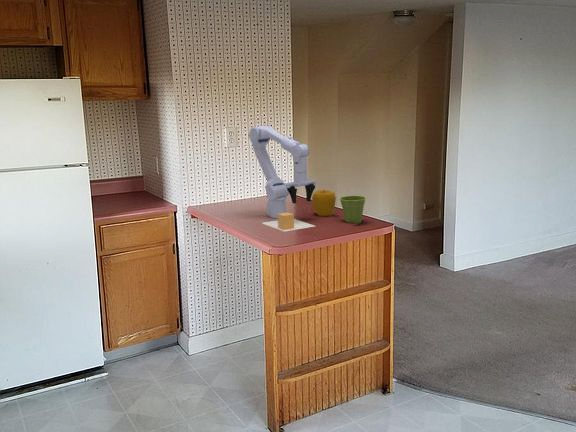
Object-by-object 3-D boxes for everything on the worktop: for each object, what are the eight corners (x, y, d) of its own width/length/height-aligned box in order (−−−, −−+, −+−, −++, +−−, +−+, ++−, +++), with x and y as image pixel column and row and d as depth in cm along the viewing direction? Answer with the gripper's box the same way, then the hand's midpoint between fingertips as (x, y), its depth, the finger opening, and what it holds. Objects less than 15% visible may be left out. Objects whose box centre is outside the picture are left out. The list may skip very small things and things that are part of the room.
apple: (307, 217, 270) (307, 190, 267) (323, 213, 277) (322, 186, 275) (325, 220, 262) (325, 192, 260) (340, 216, 270) (340, 189, 267)
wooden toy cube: (284, 229, 242) (283, 215, 241) (278, 227, 246) (277, 213, 245) (294, 228, 245) (293, 214, 244) (288, 225, 249) (287, 212, 248)
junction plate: (261, 225, 256) (260, 215, 255) (291, 220, 264) (291, 210, 263) (284, 233, 240) (283, 223, 239) (316, 228, 248) (315, 218, 247)
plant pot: (349, 218, 264) (348, 194, 262) (371, 221, 257) (371, 197, 255) (334, 223, 256) (334, 198, 253) (356, 227, 248) (356, 201, 246)
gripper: (291, 174, 247) (292, 205, 250) (319, 171, 254) (319, 201, 257) (283, 172, 253) (283, 203, 256) (310, 169, 260) (311, 199, 263)
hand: (301, 202), depth 257 cm, fingers open, 7 cm apart
